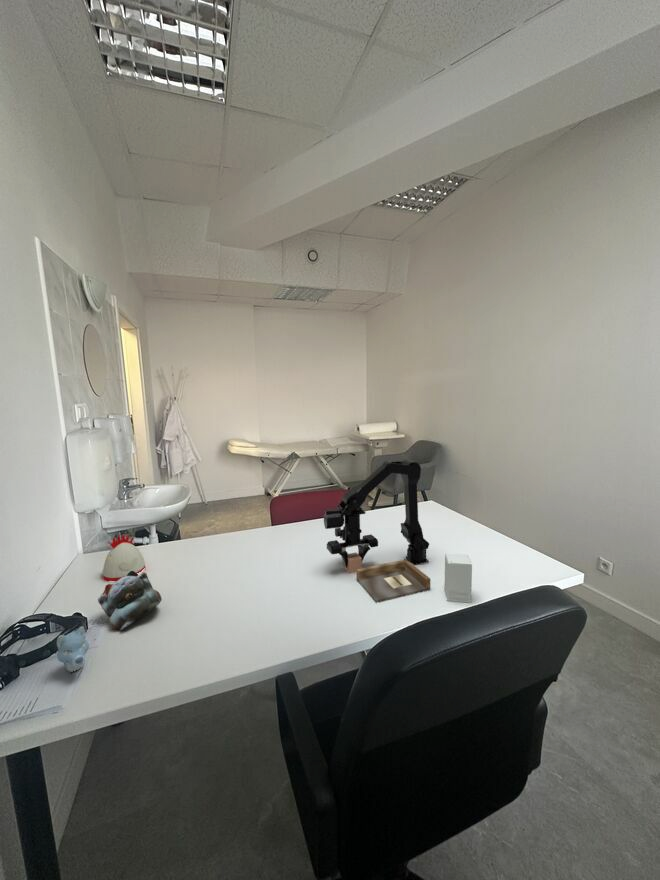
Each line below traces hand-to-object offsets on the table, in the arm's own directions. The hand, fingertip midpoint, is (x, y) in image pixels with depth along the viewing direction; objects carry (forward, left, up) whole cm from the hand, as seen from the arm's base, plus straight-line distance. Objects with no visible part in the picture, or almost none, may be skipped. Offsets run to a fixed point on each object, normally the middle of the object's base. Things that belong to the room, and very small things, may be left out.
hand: (352, 565), depth 134 cm
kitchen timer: (+81, -30, -2) cm, 86 cm away
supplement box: (-24, +29, -2) cm, 38 cm away
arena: (-8, +15, -1) cm, 17 cm away
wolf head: (+82, +22, -1) cm, 85 cm away
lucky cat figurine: (+73, +3, -2) cm, 73 cm away
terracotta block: (0, 0, -1) cm, 1 cm away
